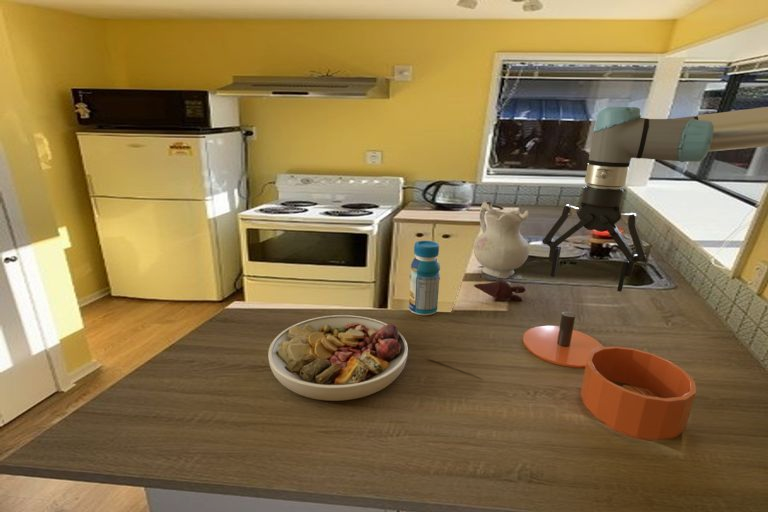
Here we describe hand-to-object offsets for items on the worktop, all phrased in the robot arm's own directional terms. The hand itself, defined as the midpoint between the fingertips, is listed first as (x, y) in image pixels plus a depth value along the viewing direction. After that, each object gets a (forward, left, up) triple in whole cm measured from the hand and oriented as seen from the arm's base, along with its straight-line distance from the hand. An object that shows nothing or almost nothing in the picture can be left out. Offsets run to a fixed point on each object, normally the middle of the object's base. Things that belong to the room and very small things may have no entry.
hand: (585, 282), depth 94 cm
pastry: (-13, +13, -19) cm, 26 cm away
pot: (-13, +13, -19) cm, 27 cm away
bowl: (+42, +35, -19) cm, 58 cm away
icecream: (+26, -21, -19) cm, 38 cm away
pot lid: (+3, -3, -18) cm, 19 cm away
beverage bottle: (+41, -1, -19) cm, 45 cm away
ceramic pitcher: (+36, -46, -19) cm, 61 cm away
